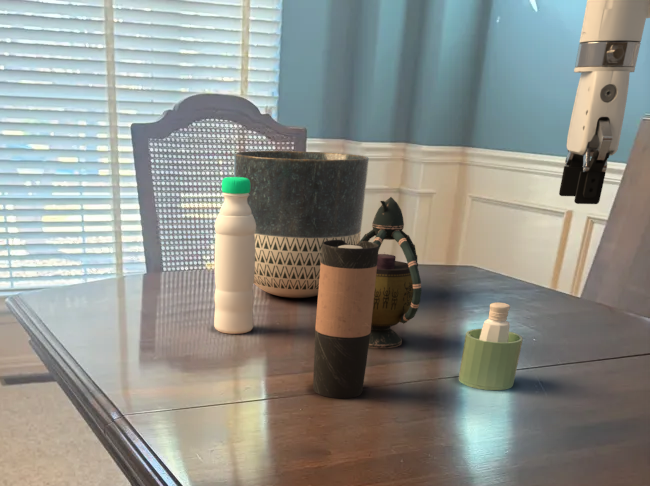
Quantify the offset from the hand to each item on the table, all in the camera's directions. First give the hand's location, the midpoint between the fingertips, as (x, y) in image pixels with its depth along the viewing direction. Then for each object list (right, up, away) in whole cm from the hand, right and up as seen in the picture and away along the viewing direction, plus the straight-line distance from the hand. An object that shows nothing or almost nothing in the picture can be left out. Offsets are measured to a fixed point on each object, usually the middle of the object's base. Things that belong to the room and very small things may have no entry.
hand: (577, 199), depth 111 cm
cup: (-11, -25, +6) cm, 28 cm away
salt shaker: (-11, -25, +6) cm, 28 cm away
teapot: (-25, -12, +28) cm, 39 cm away
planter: (-37, +4, +55) cm, 67 cm away
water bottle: (-50, -11, +29) cm, 59 cm away
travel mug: (-35, -28, +1) cm, 44 cm away
